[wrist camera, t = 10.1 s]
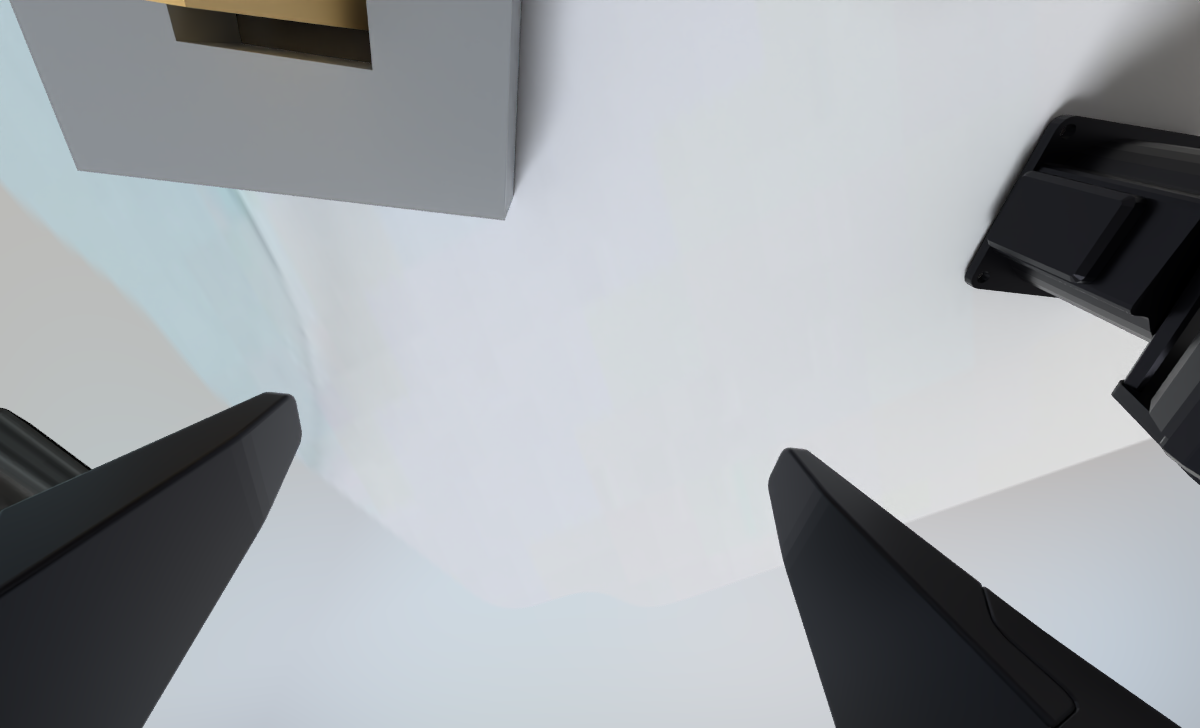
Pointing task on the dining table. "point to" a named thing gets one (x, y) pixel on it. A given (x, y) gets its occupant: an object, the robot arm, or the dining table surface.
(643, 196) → the dining table surface
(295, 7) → the ochre pin
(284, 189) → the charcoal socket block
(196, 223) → the dining table surface
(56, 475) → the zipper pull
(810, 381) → the dining table surface
